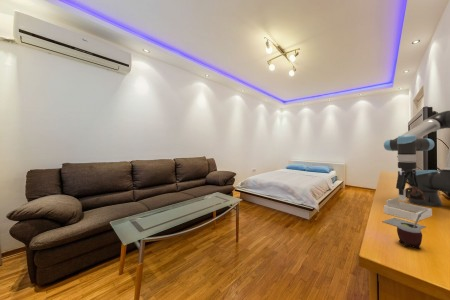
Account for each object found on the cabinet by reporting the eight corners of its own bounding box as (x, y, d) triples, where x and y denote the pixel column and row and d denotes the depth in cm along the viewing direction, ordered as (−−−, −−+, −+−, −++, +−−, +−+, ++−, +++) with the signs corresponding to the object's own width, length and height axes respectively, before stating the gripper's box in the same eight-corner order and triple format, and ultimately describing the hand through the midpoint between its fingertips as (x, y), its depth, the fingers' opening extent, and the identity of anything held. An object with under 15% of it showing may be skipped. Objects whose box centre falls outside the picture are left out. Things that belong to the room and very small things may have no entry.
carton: (399, 208, 111) (399, 197, 111) (432, 216, 98) (432, 203, 98) (383, 212, 104) (383, 200, 104) (416, 221, 91) (415, 207, 91)
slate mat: (394, 218, 96) (394, 217, 96) (425, 227, 85) (425, 226, 85) (382, 221, 92) (382, 221, 92) (413, 231, 81) (413, 231, 81)
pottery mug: (397, 202, 103) (400, 192, 107) (419, 210, 97) (422, 199, 101) (404, 190, 96) (407, 180, 99) (429, 198, 90) (431, 187, 93)
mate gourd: (393, 242, 72) (393, 206, 72) (402, 238, 75) (402, 204, 75) (419, 252, 65) (418, 212, 65) (428, 247, 68) (428, 209, 68)
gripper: (408, 160, 109) (409, 194, 109) (387, 162, 100) (388, 200, 100) (425, 160, 102) (426, 197, 102) (404, 163, 93) (405, 203, 93)
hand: (407, 199), depth 101 cm, fingers closed on pottery mug, 11 cm apart
